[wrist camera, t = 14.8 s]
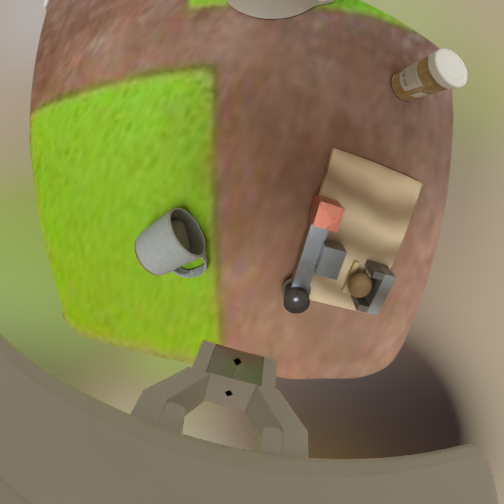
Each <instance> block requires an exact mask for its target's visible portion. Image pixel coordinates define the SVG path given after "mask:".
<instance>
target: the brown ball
mask: <svg viewBox="0 0 504 504" xmlns="http://www.w3.org/2000/svg"><path fill="white" fill-rule="evenodd" d="M347 286H348V290H349V292H350V294H351V295H353V296H354V297H357V298H361V297H365V296H366V295H368V294H369V292H370V291H371V288H372V281H371V279H370V277H369V276H368V275H367V274H365V273H363V272H357V273H355V274H353V275H352V276H351V277H350V278H349V280H348V284H347Z"/></svg>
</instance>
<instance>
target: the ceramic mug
mask: <svg viewBox="0 0 504 504" xmlns="http://www.w3.org/2000/svg"><path fill="white" fill-rule="evenodd" d="M205 249H206V244H205V239H204V235H203V232H202V230H201V228H200V227H199V225H198V223H197V222H196V220H195V219H194V218H193V217H192V215H191V214H190V213H188V212H187V211H186V210H184V209H182V208H173V209H171V210H170V211H169V212H167V213H166V214H165V215H163V216H162V217H160V218H159V219H158V220H156V221H155V222H154V223H153V224H151V225H150V226H149V227H147V228H146V229H144V230H143V231H142V232H141V233H140V234H139V236H138V237H137V239H136V241H135V253H136V257H137V259H138V261H139V263H140V264H141V265H142V267H143V268H144V269H145V270H146V271H148V272H149V273H151V274H153V275H163V274H167V273H169V272H172V271H173V272H174V273H175V274H177V275H179V276H181V277H186V278H193V277H197V276H200V275H202V274H203V273H204V272H205V271H206V269H207V262H208V260H207V256H206V254H205ZM200 257H201V258H202V260H203V262H204V264H203V265H202V266H200V267H197V268H195V269H191V270H185V269H182V268H180V267H181V266H183V265H186V264H188V263H190V262H192V261H194V260H196V259H198V258H200Z"/></svg>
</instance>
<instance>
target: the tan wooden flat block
mask: <svg viewBox="0 0 504 504" xmlns="http://www.w3.org/2000/svg"><path fill="white" fill-rule="evenodd" d="M421 187H422V183H420V182H418V181H416V180H414V179H412V178H410V177H407V176H405V175H403V174H401V173H398V172H396V171H394V170H391V169H389V168H387V167H384V166H382V165H379V164H377V163H374V162H372V161H369V160H366V159H364V158H361V157H358V156H356V155H353V154H350V153H347V152H344V151H341V150H339V149H336V148H332V150H331V154H330V158H329V161H328V165H327V168H326V172H325V175H324V178H323V182H322V185H321V188H320V192H319V195H321V196H325V197H328V198H332V199H335V200H337V201H338V202H339V203H340V204H341V205H342V206H343V207H344V208H345V210H344V213H343V217H342V220H341V223H340V226H339V229H338V232H337V233H336V232H333V231H329V230H328V233H327V236H326V239H325V240H329V241H333V242H336V243H340V244H343V246H344V248H345V250H346V251H347V254H346V257H345V259H344V262H343V265H342V267H341V270H340V273H339V275H338V278H337V280H335V279H331V278H327V277H323V276H318V275H315V272H314V275H313V278H312V280H311V283H310V286H309V289H308V293H309V300H313V301H317V302H321V303H326V304H330V305H334V306H338V307H342V308H347V309H351V310H355V311H360V312H364V313H370V314H374V315H377V314H378V312H379V310H380V308H381V306H382V304H383V302H384V300H385V298H386V296H387V294H388V292H389V290H390V288H391V286H392V284H393V282H394V280H395V278H396V277H395V276H394V274H393V273H392V272H391V270H390V269H391V266H392V264H393V262H394V260H395V257H396V255H397V252H398V250H399V248H400V245H401V243H402V240H403V238H404V235H405V233H406V230H407V227H408V225H409V222H410V219H411V217H412V214H413V211H414V208H415V205H416V202H417V199H418V196H419V193H420V190H421ZM297 261H298V260H297ZM296 264H297V263H296ZM295 267H296V266H295ZM294 271H295V269H294ZM357 272H363V273H365V274H367V275H368V276H369V277H370V279H371V281H372V288H371V291H370V292H369V294H368V295H366V296H365V297H361V298H357V297H354V296H353V295H351V294H350V292H349V290H348V286H347V284H348V280H349V278H350V277H351V276H352V275H353V274H355V273H357ZM293 274H294V272H293ZM292 277H293V275H292ZM291 280H292V278H290V279H288V280H286V281H285V282H284V283H283V285H282V288H281V293H282V296H283V298H284V288H285V286H286V285H287V284H288V283H290V282H291Z"/></svg>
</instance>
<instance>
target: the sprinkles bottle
mask: <svg viewBox="0 0 504 504" xmlns="http://www.w3.org/2000/svg"><path fill="white" fill-rule="evenodd" d="M466 82H467V70H466V67H465V65H464V63H463V61H462V60H461V59H460V57H459V56H458V55H457V54H456V53H454V52H452V51H451V50H449V49H444V48H443V49H438V50H436V51H434V52H433V53H431V54H430V55H429V56H428V57H426V58H424V59H422V60H420V61H418V62H416V63H414V64H413V65H411V66H409V67H407V68H406V69H404V70H403V71H401V72H400V73H396V74H395V75H394V76H393V77H392V80H391V85H392V89H393V91H394V93H395V94H396V95H397V96H398V97H399V98H400V99H402V100H406V101H412V100H414V99H416V98H420V97H424V96H427V95H430V94H433V93H436V92H438V91H442V90H446V89H450V90H453V89H457V88H461V87H463V86H464V85H465V84H466Z"/></svg>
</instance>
